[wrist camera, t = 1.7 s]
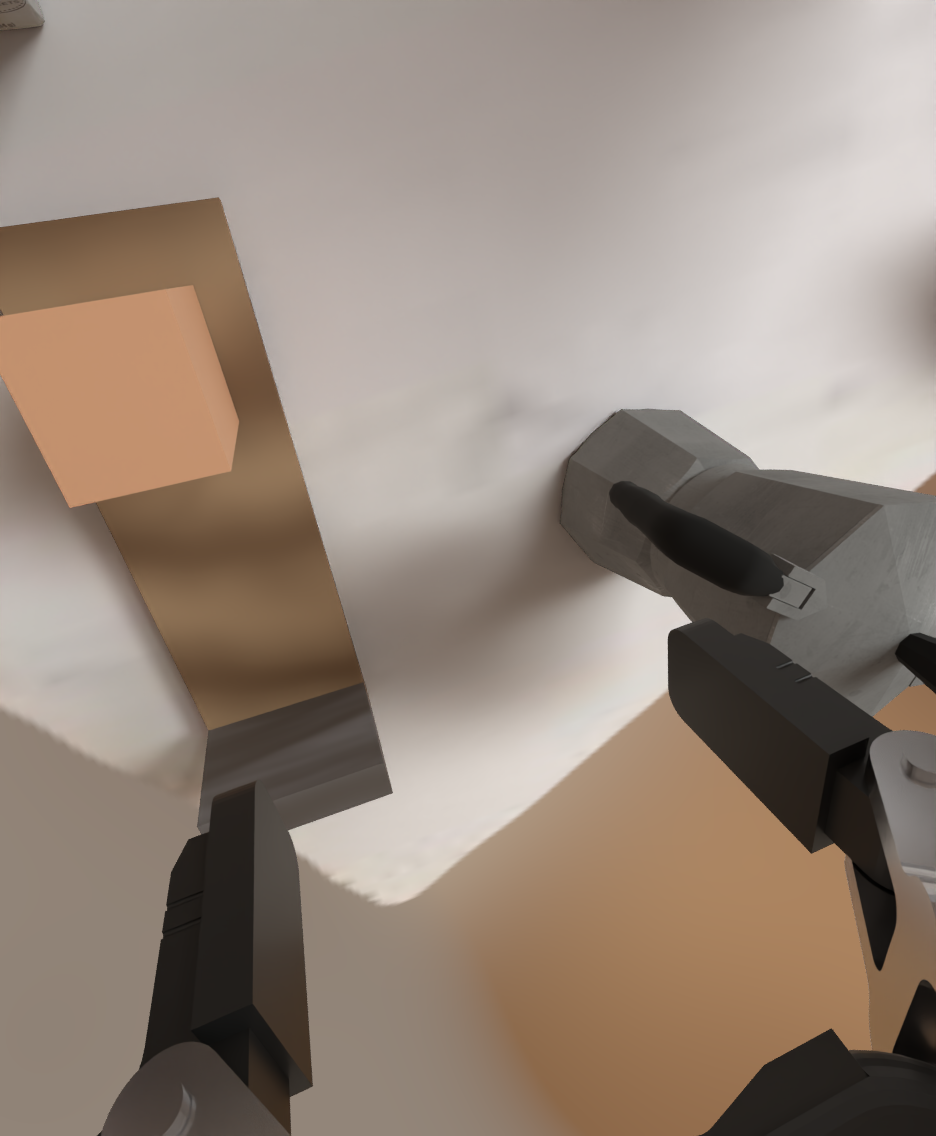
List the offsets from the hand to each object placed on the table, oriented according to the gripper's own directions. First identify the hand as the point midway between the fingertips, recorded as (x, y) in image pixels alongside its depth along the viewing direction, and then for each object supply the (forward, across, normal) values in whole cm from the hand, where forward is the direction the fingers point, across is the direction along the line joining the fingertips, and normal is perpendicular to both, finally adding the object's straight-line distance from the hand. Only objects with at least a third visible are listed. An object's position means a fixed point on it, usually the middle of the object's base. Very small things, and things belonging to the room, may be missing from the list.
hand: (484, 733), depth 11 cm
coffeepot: (+19, -14, +5) cm, 24 cm away
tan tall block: (+17, +6, -6) cm, 19 cm away
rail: (+19, +6, +1) cm, 20 cm away
